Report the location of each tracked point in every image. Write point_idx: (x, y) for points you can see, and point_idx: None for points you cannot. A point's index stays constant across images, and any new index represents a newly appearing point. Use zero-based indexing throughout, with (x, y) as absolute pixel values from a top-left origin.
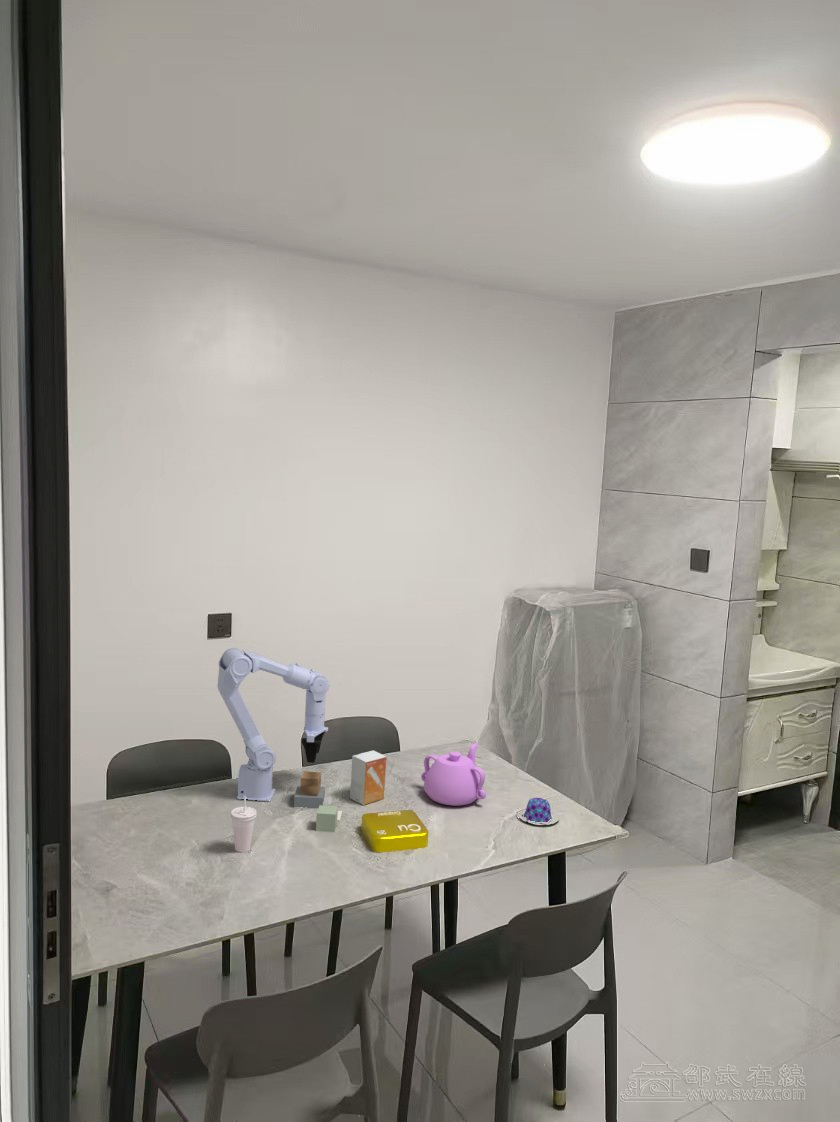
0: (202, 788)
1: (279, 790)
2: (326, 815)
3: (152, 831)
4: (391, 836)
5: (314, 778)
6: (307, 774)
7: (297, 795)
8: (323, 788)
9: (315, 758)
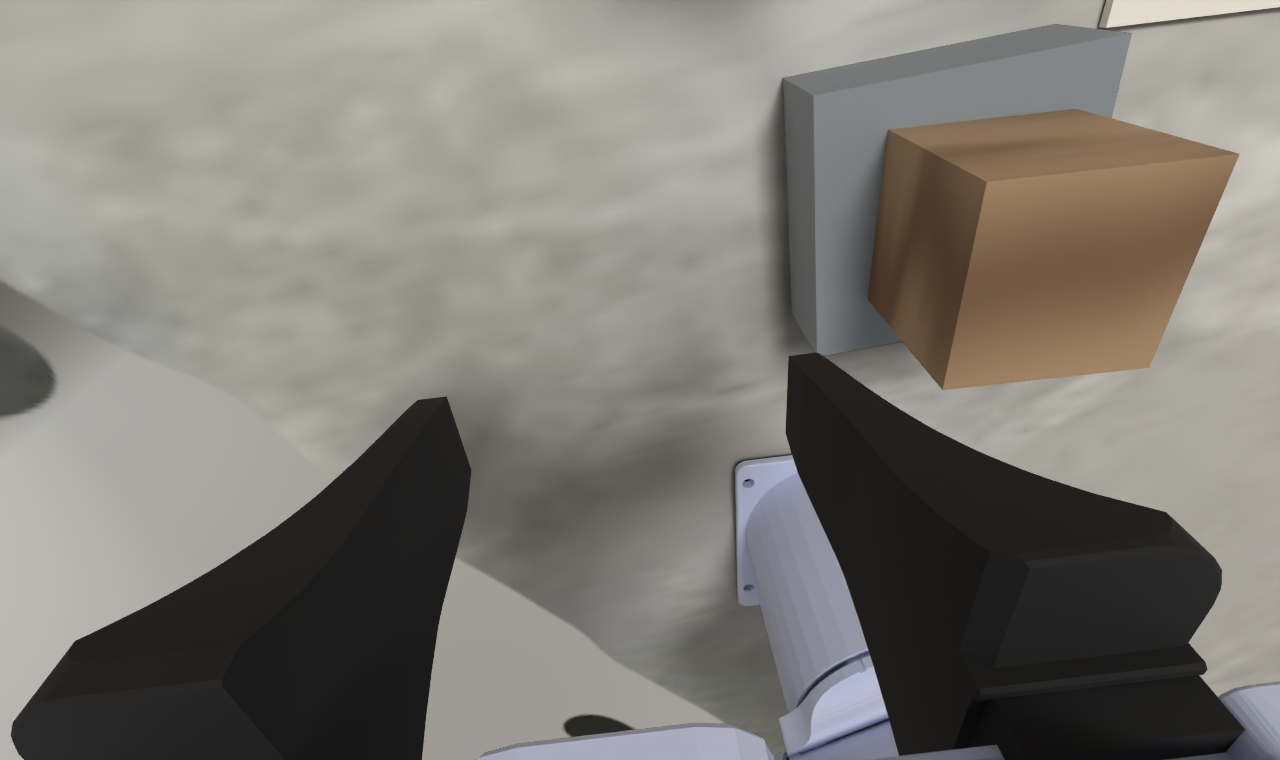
0: (766, 712)
1: (719, 440)
2: None
3: None
4: None
5: (1196, 214)
6: (1048, 329)
7: None
8: (863, 99)
9: (849, 375)
